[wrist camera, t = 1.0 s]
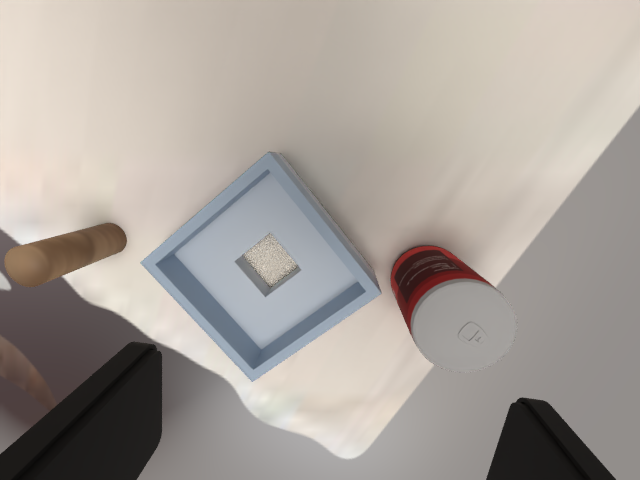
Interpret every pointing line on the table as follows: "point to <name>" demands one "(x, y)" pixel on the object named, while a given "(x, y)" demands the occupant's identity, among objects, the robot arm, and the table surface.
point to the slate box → (245, 283)
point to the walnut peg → (63, 254)
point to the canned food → (452, 310)
